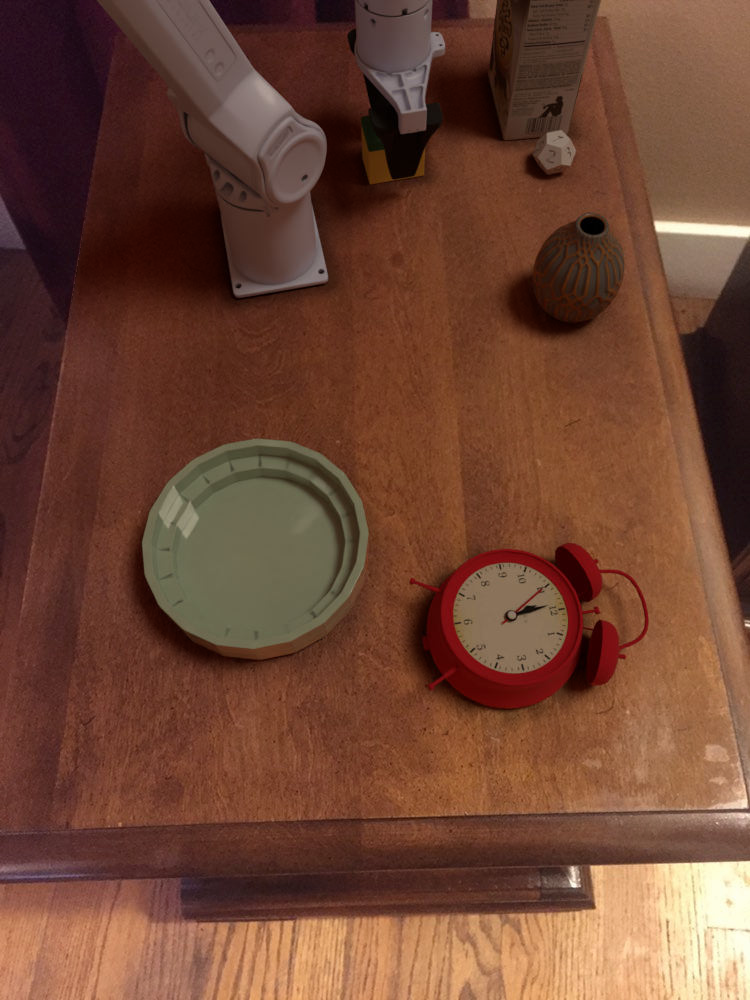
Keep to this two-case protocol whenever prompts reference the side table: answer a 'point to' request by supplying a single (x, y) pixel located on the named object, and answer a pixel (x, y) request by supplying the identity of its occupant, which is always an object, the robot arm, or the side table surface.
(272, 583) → the bowl
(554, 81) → the coffee box
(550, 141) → the game die
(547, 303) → the vase
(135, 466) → the side table surface
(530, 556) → the alarm clock
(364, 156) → the sponge
